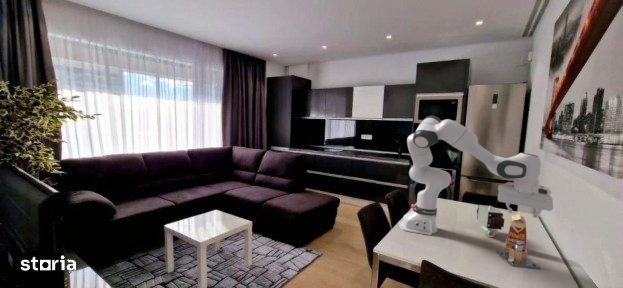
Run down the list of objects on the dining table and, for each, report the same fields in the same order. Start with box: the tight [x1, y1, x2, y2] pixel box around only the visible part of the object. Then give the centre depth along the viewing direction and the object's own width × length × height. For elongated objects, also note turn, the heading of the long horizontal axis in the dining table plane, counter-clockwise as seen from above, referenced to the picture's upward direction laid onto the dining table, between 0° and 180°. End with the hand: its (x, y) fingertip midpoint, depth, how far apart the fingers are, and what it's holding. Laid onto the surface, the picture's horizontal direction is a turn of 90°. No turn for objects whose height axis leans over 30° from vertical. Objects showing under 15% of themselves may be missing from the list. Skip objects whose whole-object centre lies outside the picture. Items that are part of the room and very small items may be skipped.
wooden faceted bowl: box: [508, 246, 528, 262], centre depth 122 cm, size 7×7×5 cm
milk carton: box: [503, 211, 528, 251], centre depth 133 cm, size 9×9×20 cm
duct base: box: [496, 240, 541, 270], centre depth 122 cm, size 12×12×10 cm
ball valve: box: [476, 204, 505, 238], centre depth 150 cm, size 18×8×18 cm, turn 168°
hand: (522, 214), depth 121 cm, fingers open, 8 cm apart
